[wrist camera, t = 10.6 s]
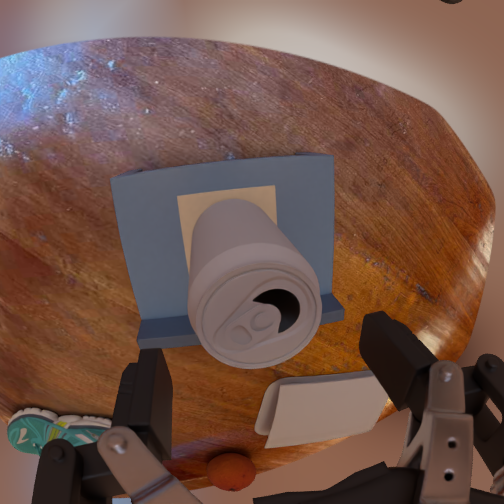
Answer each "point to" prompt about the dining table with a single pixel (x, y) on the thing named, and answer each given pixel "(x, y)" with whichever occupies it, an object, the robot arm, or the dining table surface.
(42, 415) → the running shoe
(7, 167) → the dining table surface
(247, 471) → the fruit
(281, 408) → the book
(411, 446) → the robot arm
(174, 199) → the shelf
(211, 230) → the beverage can
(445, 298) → the dining table surface
